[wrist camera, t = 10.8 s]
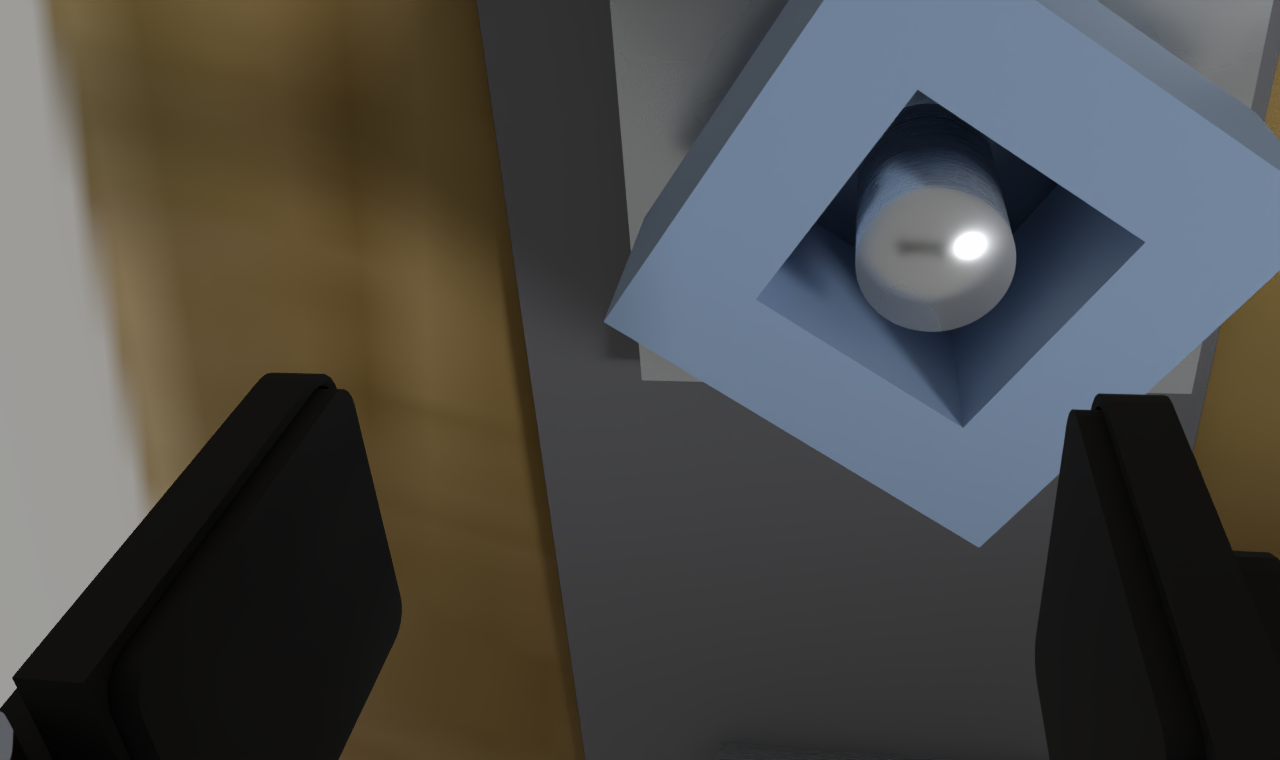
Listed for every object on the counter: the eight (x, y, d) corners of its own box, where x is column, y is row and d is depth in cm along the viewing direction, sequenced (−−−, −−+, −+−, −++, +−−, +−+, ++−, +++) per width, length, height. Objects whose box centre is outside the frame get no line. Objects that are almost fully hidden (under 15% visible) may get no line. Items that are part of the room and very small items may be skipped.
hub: (1304, -241, 16) (1490, -193, 11) (1181, 370, 21) (1272, 581, 17) (603, -195, 18) (507, -138, 13) (647, 359, 23) (590, 546, 18)
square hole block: (1256, 112, 16) (1341, 213, 13) (962, 414, 20) (978, 547, 17) (887, -148, 15) (892, -100, 12) (644, 217, 19) (603, 322, 16)
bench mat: (1389, -510, 15) (1401, -514, 15) (1060, 1039, 34) (1062, 1054, 33) (426, -413, 17) (417, -413, 17) (622, 987, 36) (619, 1000, 36)
